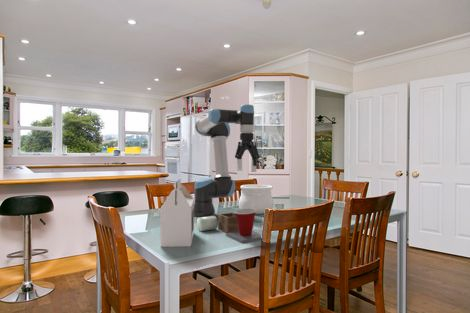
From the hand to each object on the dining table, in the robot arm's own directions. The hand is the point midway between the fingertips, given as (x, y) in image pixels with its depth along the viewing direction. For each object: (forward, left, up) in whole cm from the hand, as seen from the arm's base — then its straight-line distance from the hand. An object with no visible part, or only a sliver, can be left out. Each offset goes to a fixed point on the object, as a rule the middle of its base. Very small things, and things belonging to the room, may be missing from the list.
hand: (246, 171), depth 173 cm
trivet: (+18, -12, -31) cm, 37 cm away
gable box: (+4, -42, -31) cm, 52 cm away
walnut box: (+2, -12, -31) cm, 33 cm away
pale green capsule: (-4, -22, -31) cm, 38 cm away
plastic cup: (+17, -13, -30) cm, 37 cm away
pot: (-32, +31, -31) cm, 54 cm away
